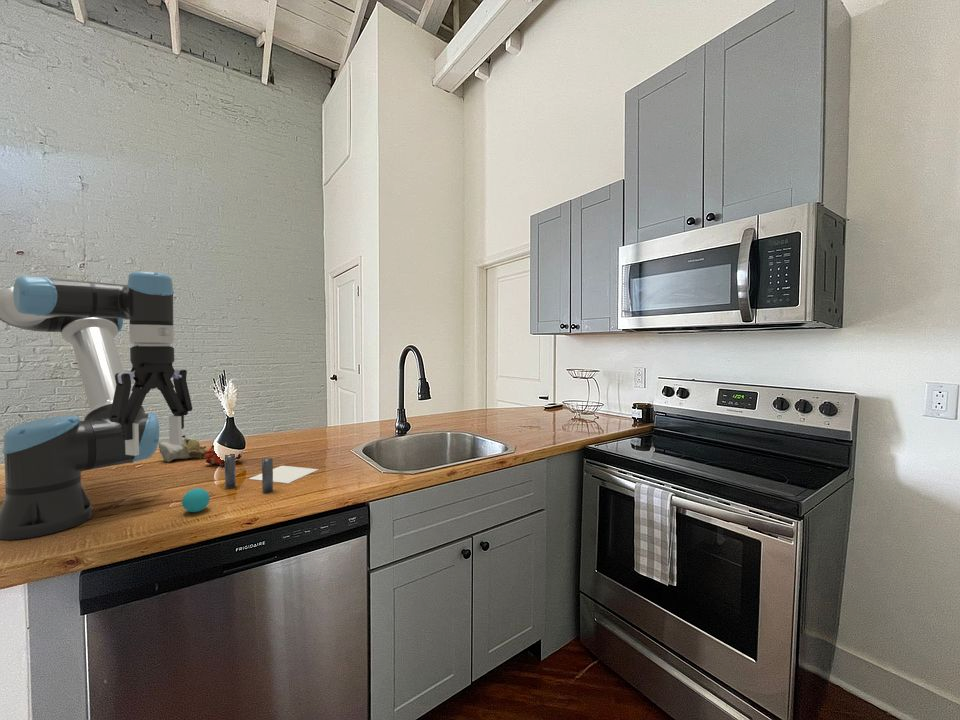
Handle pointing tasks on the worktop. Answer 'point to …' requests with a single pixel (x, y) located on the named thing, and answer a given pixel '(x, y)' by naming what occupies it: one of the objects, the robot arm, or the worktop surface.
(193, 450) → the grey rock
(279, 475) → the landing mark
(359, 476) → the worktop surface
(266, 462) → the gate post right
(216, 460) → the dragon fruit
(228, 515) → the worktop surface
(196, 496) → the ball
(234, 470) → the gate post left
